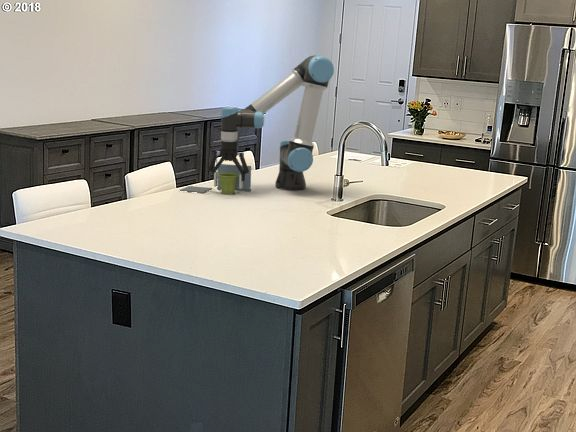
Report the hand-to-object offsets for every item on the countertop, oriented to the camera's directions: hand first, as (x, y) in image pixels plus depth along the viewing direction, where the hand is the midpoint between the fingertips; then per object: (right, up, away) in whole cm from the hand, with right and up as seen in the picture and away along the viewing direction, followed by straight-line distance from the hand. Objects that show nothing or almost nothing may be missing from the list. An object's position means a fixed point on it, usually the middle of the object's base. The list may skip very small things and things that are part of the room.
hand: (228, 187), depth 358 cm
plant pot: (0, -3, +1) cm, 3 cm away
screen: (+2, -1, +9) cm, 9 cm away
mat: (-16, -1, +5) cm, 16 cm away
